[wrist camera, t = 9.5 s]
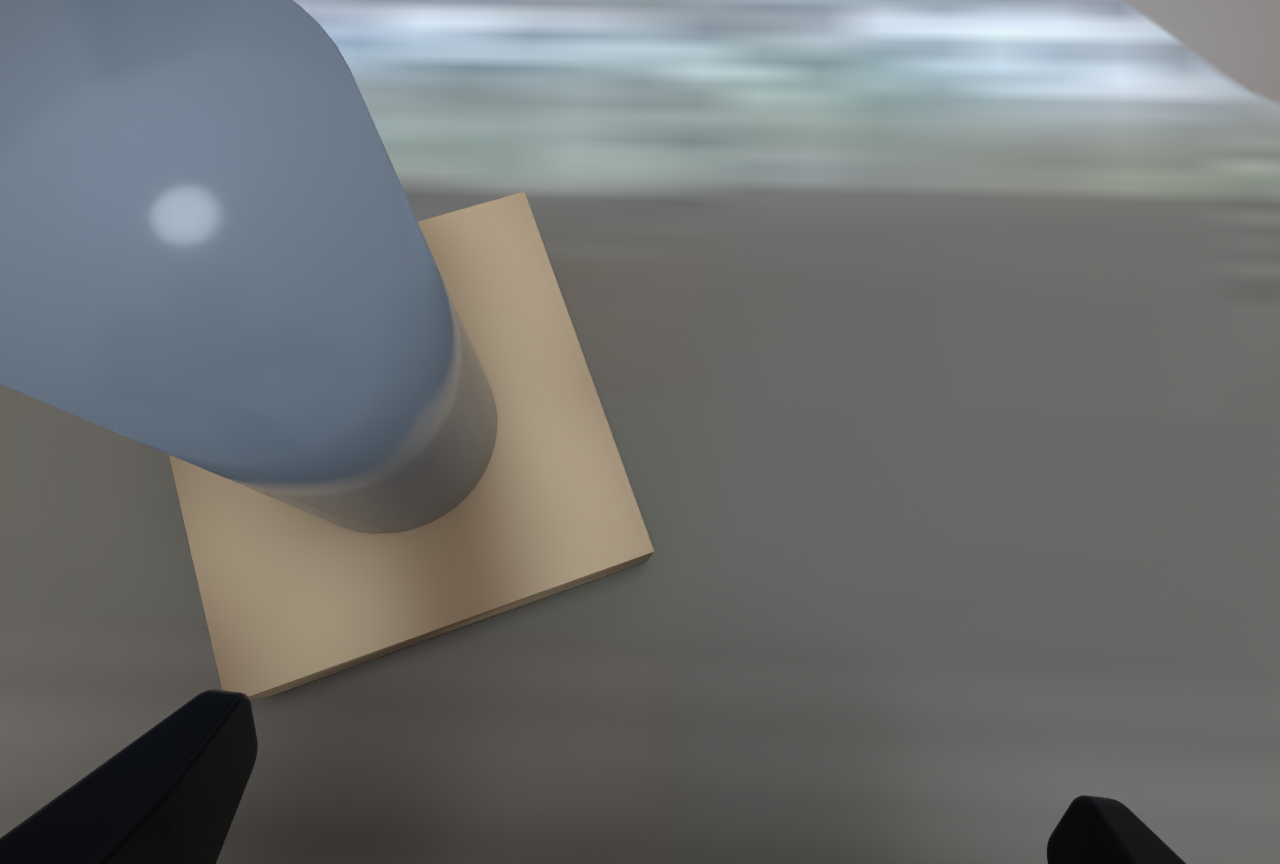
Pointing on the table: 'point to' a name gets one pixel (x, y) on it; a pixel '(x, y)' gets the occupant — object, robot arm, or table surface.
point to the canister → (228, 258)
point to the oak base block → (459, 540)
